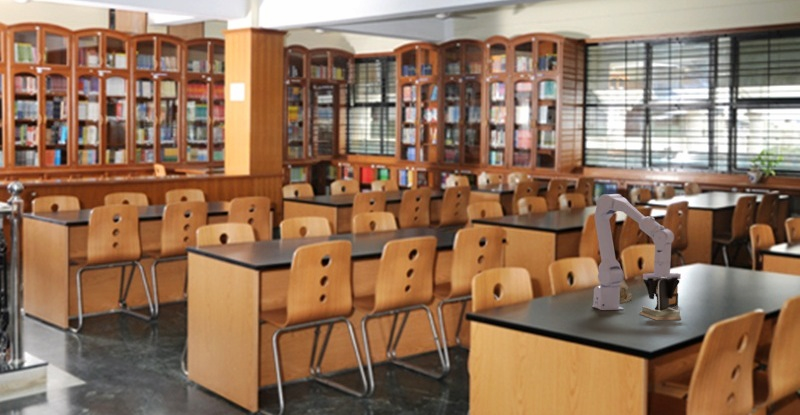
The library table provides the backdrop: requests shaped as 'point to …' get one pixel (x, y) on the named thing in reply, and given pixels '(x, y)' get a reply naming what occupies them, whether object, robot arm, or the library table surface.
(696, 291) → the library table surface
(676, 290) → the ammunition clip
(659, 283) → the battery
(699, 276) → the library table surface
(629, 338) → the library table surface
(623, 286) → the ceramic model
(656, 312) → the battery dock
